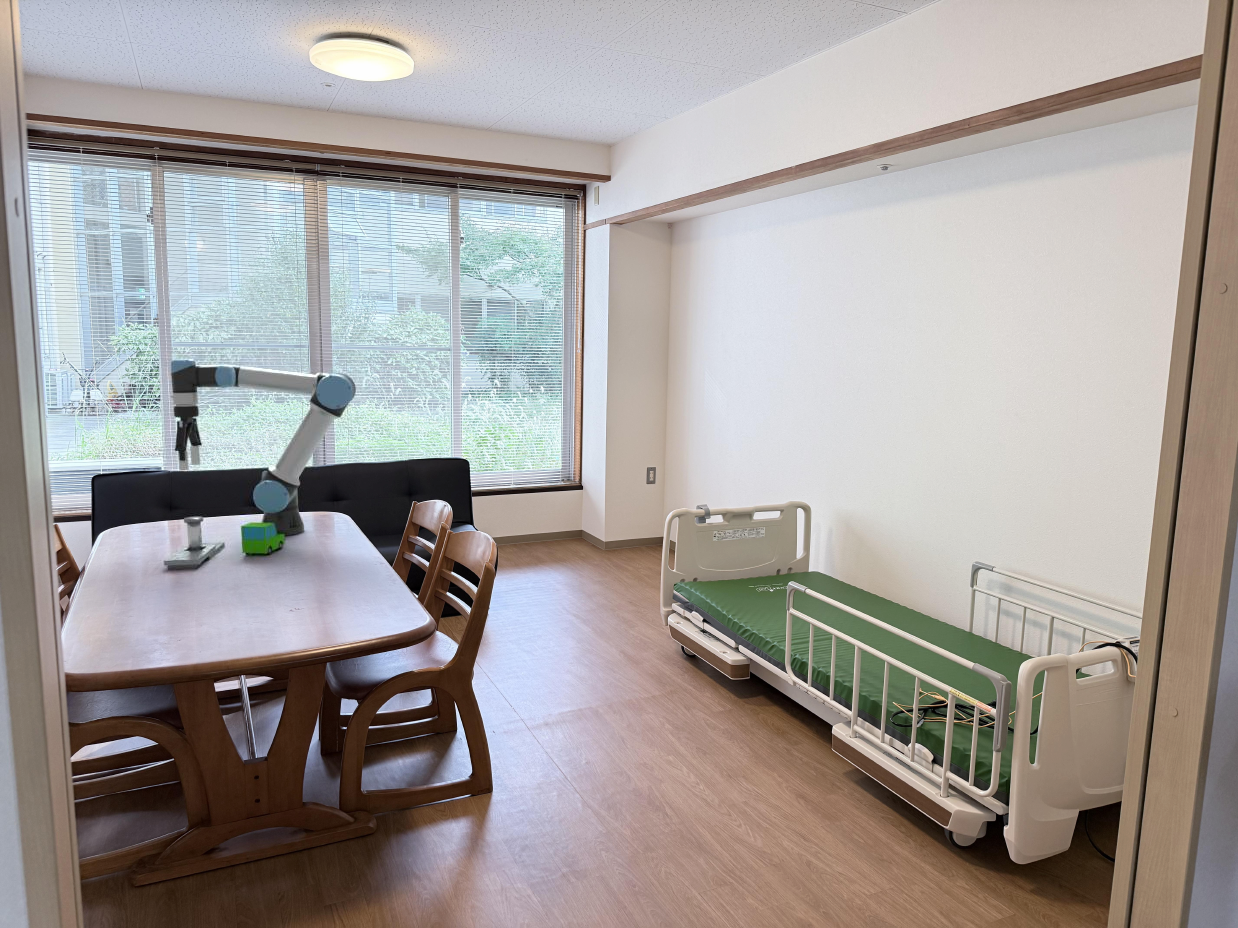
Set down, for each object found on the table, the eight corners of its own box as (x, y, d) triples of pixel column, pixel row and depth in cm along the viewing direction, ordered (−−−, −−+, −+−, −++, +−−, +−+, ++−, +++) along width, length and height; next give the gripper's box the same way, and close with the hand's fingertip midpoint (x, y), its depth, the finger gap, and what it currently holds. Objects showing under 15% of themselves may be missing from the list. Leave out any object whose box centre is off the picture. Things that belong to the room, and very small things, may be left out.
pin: (207, 555, 280) (205, 516, 279) (203, 559, 275) (200, 519, 273) (189, 556, 279) (186, 516, 277) (184, 560, 274) (181, 520, 272)
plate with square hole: (224, 546, 293) (224, 537, 292) (199, 568, 263) (198, 559, 263) (193, 547, 291) (192, 539, 290) (164, 570, 262) (163, 560, 261)
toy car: (289, 547, 292) (287, 518, 290) (269, 557, 279) (267, 526, 277) (260, 546, 293) (258, 518, 291) (239, 556, 280) (237, 526, 278)
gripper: (185, 403, 301) (189, 462, 304) (161, 408, 277) (166, 472, 280) (208, 402, 303) (211, 462, 306) (186, 407, 278) (191, 472, 281)
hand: (190, 467), depth 293 cm, fingers open, 13 cm apart
